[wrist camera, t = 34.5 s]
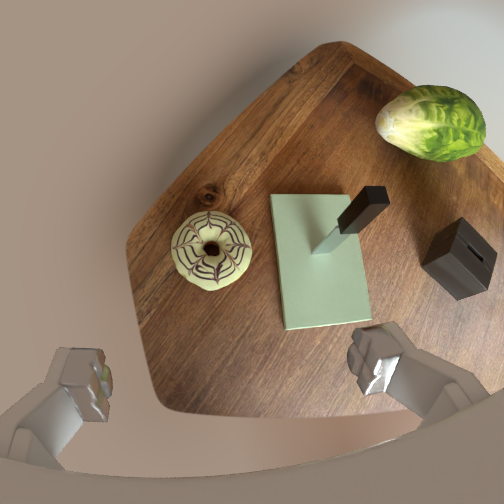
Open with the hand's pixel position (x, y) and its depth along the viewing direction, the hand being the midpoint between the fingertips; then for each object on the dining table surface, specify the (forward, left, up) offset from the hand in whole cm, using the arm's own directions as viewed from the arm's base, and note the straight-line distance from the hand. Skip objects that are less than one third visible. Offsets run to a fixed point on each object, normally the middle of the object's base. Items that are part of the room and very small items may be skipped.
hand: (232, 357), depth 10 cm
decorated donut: (+12, -7, -33) cm, 36 cm away
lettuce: (+10, -54, -33) cm, 65 cm away
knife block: (-12, -40, -33) cm, 54 cm away
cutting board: (+3, -20, -33) cm, 39 cm away
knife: (+4, -20, -32) cm, 38 cm away
